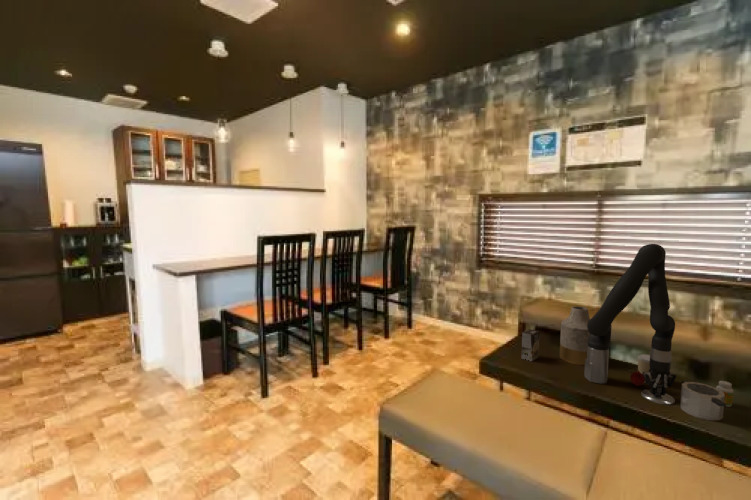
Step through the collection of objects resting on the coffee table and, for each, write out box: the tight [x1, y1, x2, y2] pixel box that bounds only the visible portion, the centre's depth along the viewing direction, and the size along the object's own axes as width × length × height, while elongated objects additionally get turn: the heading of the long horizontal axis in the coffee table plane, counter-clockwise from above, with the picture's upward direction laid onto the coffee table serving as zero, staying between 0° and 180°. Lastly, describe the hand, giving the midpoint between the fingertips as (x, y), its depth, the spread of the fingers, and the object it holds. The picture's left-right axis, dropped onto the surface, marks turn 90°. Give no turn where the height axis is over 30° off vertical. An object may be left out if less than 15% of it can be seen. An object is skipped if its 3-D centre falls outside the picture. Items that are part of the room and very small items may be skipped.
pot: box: [679, 380, 727, 422], centre depth 150 cm, size 19×13×10 cm
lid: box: [640, 381, 676, 406], centre depth 162 cm, size 12×12×7 cm
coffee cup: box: [637, 353, 651, 384], centre depth 178 cm, size 9×9×12 cm
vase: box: [559, 305, 591, 367], centre depth 204 cm, size 18×18×30 cm
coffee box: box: [520, 328, 540, 362], centre depth 207 cm, size 9×6×16 cm
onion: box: [629, 369, 645, 387], centre depth 173 cm, size 6×6×8 cm
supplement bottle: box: [715, 380, 734, 408], centre depth 156 cm, size 5×5×10 cm
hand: (657, 394), depth 162 cm, fingers closed on lid, 3 cm apart
